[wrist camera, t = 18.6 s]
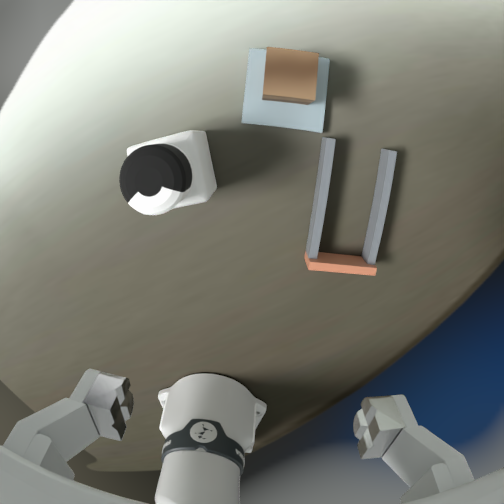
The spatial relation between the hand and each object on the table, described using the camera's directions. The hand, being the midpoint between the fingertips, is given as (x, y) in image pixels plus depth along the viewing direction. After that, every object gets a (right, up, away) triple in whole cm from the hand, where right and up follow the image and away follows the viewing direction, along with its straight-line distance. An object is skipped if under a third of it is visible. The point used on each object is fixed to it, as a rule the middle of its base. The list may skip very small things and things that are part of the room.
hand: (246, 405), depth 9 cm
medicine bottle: (-8, +15, +26) cm, 31 cm away
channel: (+12, +11, +27) cm, 31 cm away
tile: (+4, +23, +22) cm, 32 cm away
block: (+4, +24, +21) cm, 32 cm away
